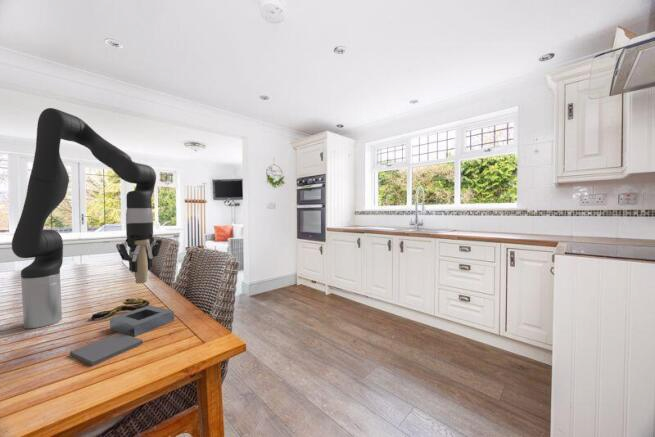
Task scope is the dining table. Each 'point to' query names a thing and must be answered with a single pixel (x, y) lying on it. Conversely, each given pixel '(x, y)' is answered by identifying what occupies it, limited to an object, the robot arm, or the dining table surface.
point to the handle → (141, 262)
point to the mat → (105, 348)
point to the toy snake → (122, 308)
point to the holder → (141, 320)
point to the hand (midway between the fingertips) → (141, 270)
